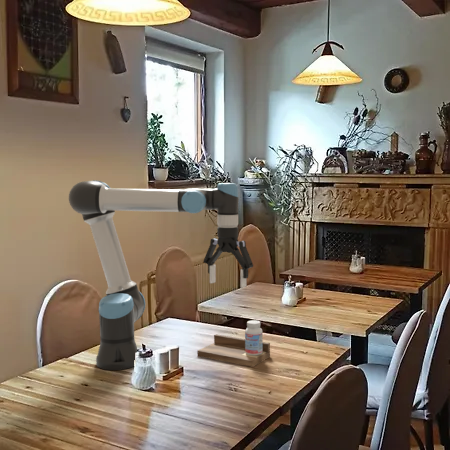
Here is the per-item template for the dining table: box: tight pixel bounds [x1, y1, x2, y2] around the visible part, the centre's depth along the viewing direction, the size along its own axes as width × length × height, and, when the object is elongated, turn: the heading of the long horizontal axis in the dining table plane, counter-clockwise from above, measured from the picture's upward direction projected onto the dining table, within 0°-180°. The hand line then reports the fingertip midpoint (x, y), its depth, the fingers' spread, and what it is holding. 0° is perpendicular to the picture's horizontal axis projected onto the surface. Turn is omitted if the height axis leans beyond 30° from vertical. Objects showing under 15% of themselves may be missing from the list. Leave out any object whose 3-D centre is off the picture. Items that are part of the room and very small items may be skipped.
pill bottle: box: [244, 319, 264, 356], centre depth 206 cm, size 6×6×11 cm
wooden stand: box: [196, 333, 271, 367], centre depth 210 cm, size 12×23×5 cm, turn 56°
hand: (227, 285), depth 213 cm, fingers open, 13 cm apart
